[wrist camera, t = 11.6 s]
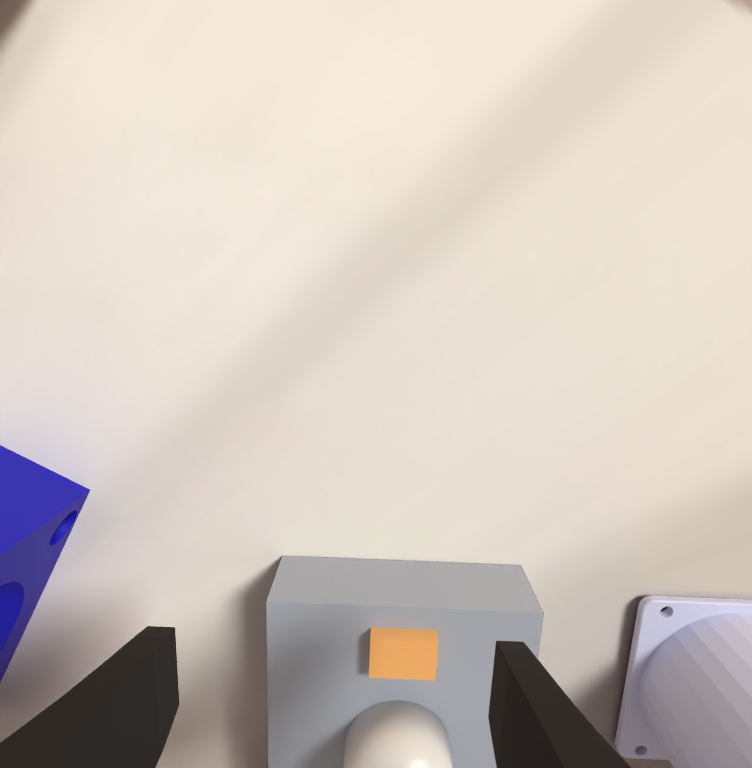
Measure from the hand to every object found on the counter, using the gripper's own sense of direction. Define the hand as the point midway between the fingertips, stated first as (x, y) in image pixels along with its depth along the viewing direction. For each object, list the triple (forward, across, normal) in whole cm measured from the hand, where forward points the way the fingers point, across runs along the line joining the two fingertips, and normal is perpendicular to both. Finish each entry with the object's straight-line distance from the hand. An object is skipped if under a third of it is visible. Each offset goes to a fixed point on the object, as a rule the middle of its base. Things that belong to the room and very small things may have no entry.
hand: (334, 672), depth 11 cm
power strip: (+9, -2, +14) cm, 17 cm away
